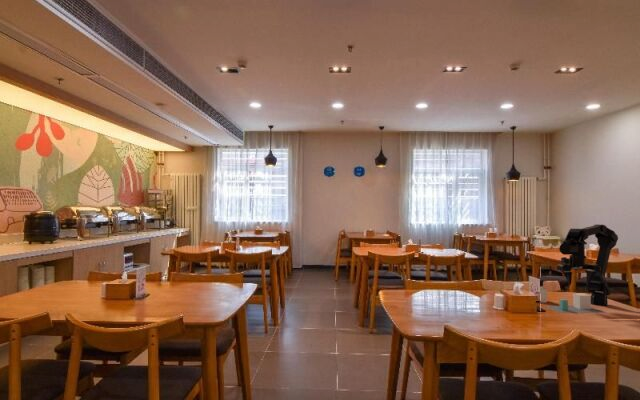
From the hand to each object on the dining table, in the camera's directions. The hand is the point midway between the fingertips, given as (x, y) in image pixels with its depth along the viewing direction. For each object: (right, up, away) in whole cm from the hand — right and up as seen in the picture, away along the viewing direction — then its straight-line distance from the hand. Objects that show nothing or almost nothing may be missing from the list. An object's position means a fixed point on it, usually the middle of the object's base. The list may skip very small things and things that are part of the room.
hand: (578, 284), depth 203 cm
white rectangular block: (+1, -11, -1) cm, 11 cm away
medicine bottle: (-13, -13, +15) cm, 23 cm away
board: (-5, -12, -4) cm, 13 cm away
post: (-11, -12, -6) cm, 17 cm away
